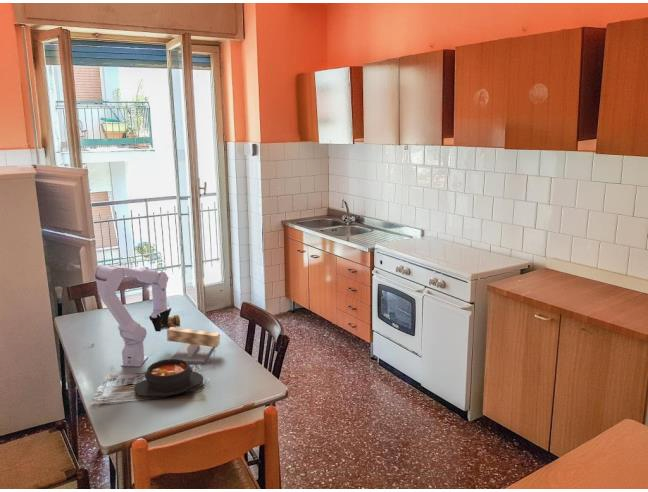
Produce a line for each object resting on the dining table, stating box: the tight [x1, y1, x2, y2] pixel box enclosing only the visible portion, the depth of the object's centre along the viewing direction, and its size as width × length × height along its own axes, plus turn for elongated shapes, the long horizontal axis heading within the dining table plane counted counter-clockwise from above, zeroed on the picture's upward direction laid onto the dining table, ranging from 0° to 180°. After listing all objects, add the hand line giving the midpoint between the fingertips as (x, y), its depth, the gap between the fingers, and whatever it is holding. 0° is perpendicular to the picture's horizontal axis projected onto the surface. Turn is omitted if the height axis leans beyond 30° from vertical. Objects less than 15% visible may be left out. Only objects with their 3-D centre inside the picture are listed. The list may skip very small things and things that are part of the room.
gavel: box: [161, 314, 181, 328], centre depth 257 cm, size 21×5×10 cm
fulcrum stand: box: [170, 343, 215, 365], centre depth 231 cm, size 20×14×5 cm
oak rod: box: [166, 326, 221, 348], centre depth 230 cm, size 22×4×5 cm, turn 82°
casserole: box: [133, 358, 204, 397], centre depth 201 cm, size 25×19×8 cm
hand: (161, 327), depth 235 cm, fingers open, 7 cm apart
